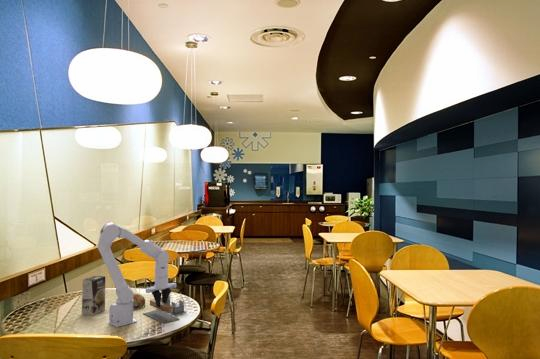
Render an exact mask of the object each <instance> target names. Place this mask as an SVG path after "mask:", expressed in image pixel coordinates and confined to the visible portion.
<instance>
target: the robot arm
mask: <svg viewBox="0 0 540 359" xmlns="http://www.w3.org/2000/svg"><path fill="white" fill-rule="evenodd" d="M117 238H118V239H126V240H127V241H130V242H131V243H133V244H134V245H136V246H138V247H139V249H140V252H142V253H144V254H145V255H147V256H148V257H150V258H152V259H154V262H155V263H154V264H155V266H154V285H151V286H150V287H149V286H148V287H145V293H146V294H150V293H151V294H152V296H153V299H155V302H156V306H157V307H160V300H161V297H162V302H163V303H167V299H168V297H169V295H171V293H172V289H173V288H177V283H176V282H169V263H168V262H169V260H170V258H171V257H170V255H169V252H168V251H166V250H165V249H164V248H163V247H162V246H158V245H157V244H156V243H154V241H153V240H152V239H150V240H149V239H145V240H143V239H141V237H139V236H137V235H136V234H134V233H133V232H132V231H130V230H129V229H127V228H125V227H123V226H121V225H117V224H116V223H114V222H107V223H105V224H104V225H103V226H102V228H100V232H99V238H98V241H97V249H98V251H99V254H100V256H101V259H102V260H103V262H104V264H105V267H106V269H107V271H108V274H109V275H110V278H111V279H112V281H113V284H114V286H115V290H116V291H115V293H116V296H117V298H116V301H115V303H113V304H110V306H109V309H108V310H109V314H108V315H109V320H108V324H110V325H112V326H114V327H115V328H118V327H123V326H126V325H130V324H133V323H137V322H138V320H137V319H135V318H134V309H133V297H134V294H135V293H134V291H133V290H132V288H131V286H130V285H129V284H127V282H126V280H125V278H124V275H123V272H122V271H121V268H120V266H119V264H118V263H117V260H116V258H115V255H114V254H113V251H112V249H111V247H112V244H113V242H114V241H115V240H116V239H117Z"/></svg>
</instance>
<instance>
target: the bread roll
mask: <svg viewBox="0 0 540 359" xmlns="http://www.w3.org/2000/svg"><path fill="white" fill-rule="evenodd" d="M145 305H146V298H145V297H144V295H142V294H139V293H134V297H133V310H138V309H142V308H143V306H144V307H145ZM141 307H142V308H141Z"/></svg>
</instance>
